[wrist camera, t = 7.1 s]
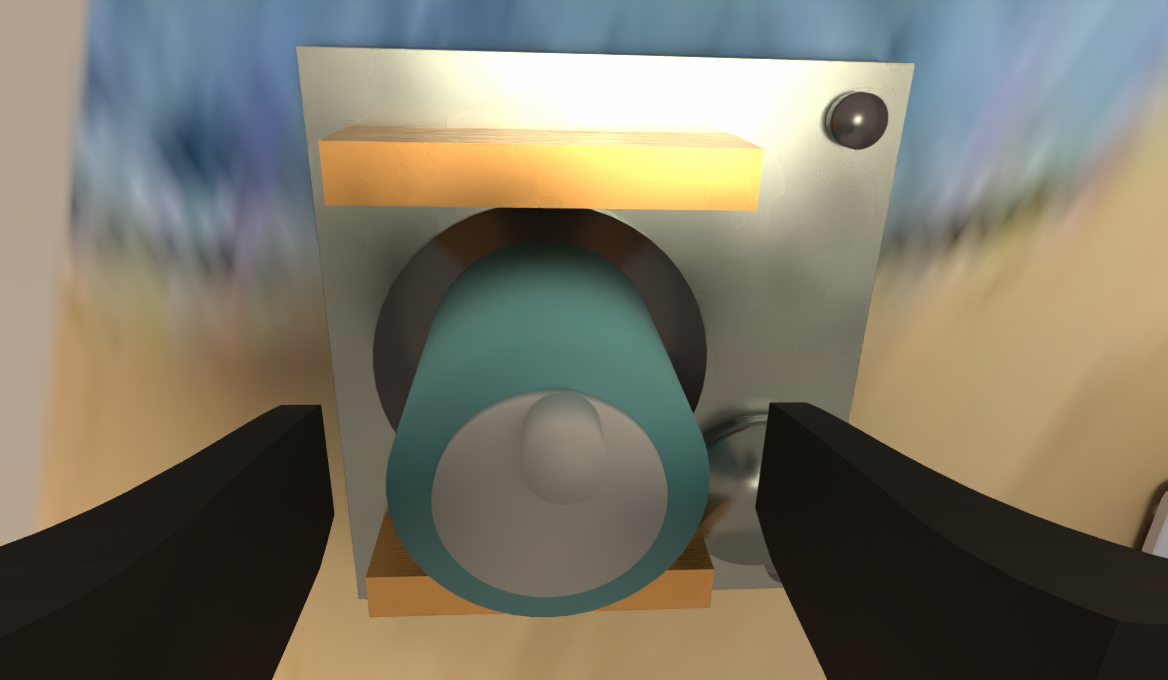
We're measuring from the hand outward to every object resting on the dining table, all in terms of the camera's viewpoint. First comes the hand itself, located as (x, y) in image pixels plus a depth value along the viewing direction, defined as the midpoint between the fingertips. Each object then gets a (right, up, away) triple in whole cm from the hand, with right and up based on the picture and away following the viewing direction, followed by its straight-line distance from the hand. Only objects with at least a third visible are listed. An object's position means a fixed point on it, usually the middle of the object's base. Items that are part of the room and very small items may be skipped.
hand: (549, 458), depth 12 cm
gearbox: (+1, +2, +5) cm, 5 cm away
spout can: (0, +2, +3) cm, 3 cm away
